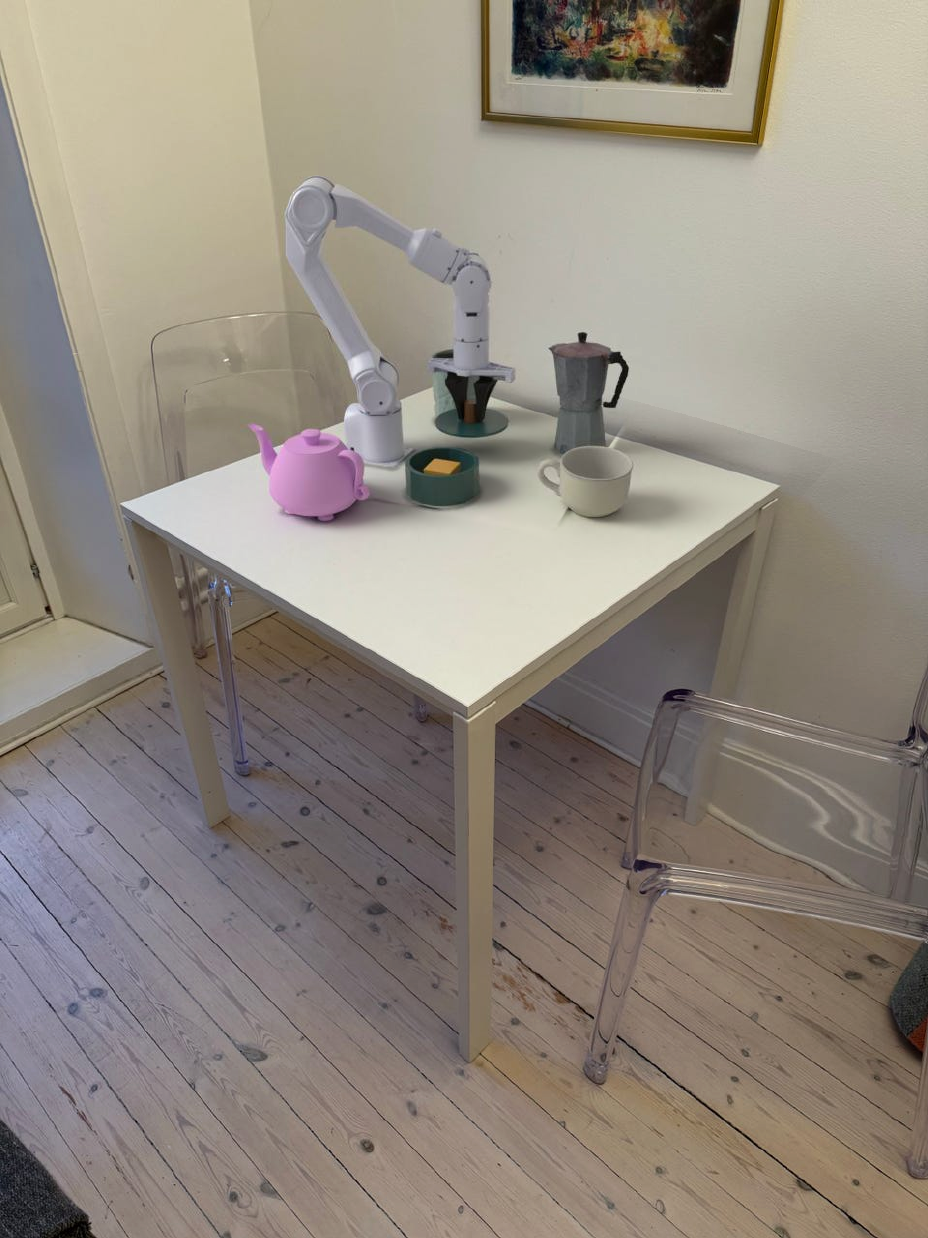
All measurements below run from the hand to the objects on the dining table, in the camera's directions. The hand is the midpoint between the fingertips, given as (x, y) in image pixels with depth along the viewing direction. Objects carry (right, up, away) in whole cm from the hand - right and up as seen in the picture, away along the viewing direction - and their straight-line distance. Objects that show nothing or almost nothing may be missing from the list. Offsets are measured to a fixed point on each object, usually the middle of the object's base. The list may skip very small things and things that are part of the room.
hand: (471, 418), depth 148 cm
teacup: (+17, -17, -13) cm, 27 cm away
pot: (-5, -14, -8) cm, 16 cm away
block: (-5, -13, -8) cm, 16 cm away
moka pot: (+19, -4, +5) cm, 20 cm away
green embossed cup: (-2, +3, +17) cm, 17 cm away
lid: (0, -1, +1) cm, 1 cm away
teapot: (-25, -16, -11) cm, 31 cm away
